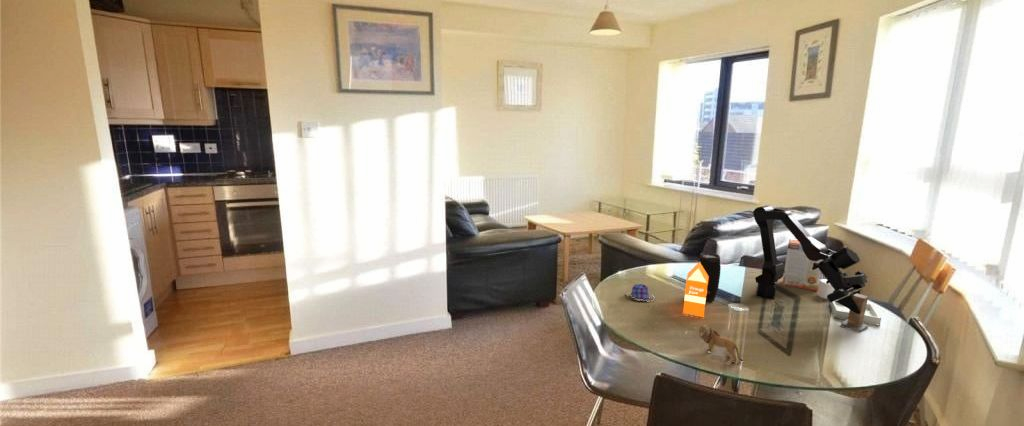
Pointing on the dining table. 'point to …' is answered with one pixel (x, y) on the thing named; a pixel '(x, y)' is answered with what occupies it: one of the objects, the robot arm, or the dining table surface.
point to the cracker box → (800, 268)
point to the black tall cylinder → (711, 273)
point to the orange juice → (696, 291)
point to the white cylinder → (824, 288)
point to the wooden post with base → (855, 319)
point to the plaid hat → (640, 292)
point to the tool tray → (843, 311)
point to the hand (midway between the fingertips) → (861, 312)
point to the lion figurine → (718, 341)
